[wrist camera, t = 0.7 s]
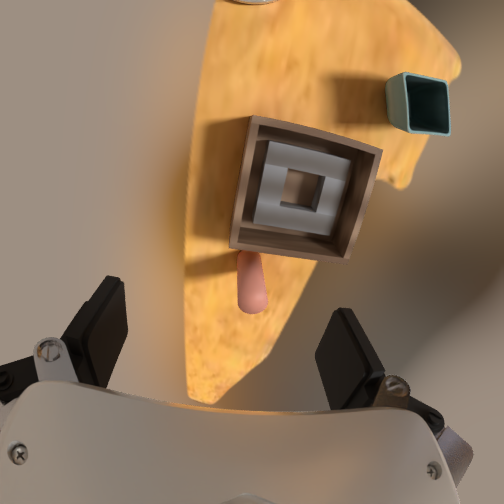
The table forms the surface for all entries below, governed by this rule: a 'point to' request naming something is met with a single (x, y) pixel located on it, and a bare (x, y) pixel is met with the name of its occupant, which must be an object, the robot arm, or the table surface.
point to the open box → (301, 191)
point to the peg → (251, 283)
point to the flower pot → (418, 104)
